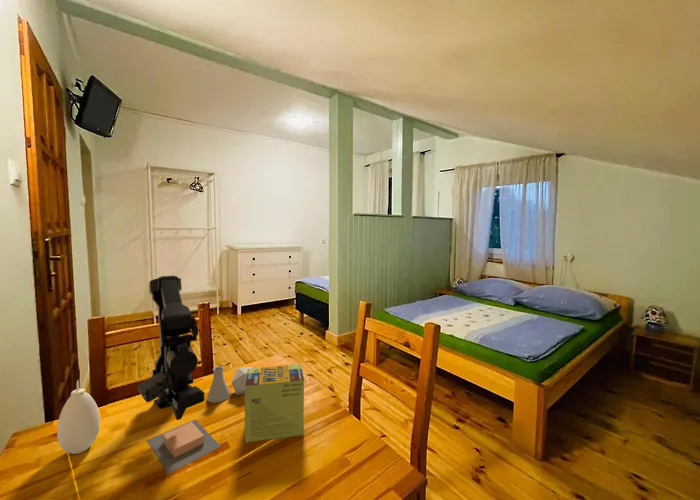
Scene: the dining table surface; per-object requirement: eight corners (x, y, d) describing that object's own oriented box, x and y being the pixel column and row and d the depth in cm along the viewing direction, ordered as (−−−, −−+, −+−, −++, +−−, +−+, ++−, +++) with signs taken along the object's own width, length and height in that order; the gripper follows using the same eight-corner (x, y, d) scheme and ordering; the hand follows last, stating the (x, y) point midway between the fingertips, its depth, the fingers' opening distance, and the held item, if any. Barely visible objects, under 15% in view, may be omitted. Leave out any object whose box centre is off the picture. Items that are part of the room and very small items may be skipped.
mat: (146, 441, 78) (146, 440, 78) (195, 420, 87) (195, 419, 87) (168, 475, 68) (167, 473, 68) (220, 447, 77) (220, 446, 77)
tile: (162, 434, 77) (173, 449, 72) (191, 421, 82) (204, 435, 77) (162, 443, 77) (174, 459, 72) (191, 430, 83) (204, 444, 77)
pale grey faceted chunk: (247, 403, 97) (264, 374, 101) (222, 390, 97) (241, 360, 101) (250, 399, 105) (266, 372, 109) (227, 386, 105) (244, 359, 109)
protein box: (304, 435, 82) (304, 379, 81) (244, 444, 78) (243, 386, 77) (300, 412, 92) (301, 363, 91) (247, 419, 88) (247, 368, 87)
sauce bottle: (67, 444, 77) (64, 375, 76) (105, 436, 80) (103, 370, 79) (51, 466, 70) (48, 390, 69) (94, 457, 73) (91, 384, 72)
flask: (221, 405, 95) (221, 374, 95) (201, 402, 97) (200, 372, 96) (234, 393, 102) (234, 364, 102) (215, 391, 104) (215, 362, 103)
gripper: (130, 359, 78) (132, 417, 79) (152, 384, 66) (154, 453, 67) (177, 347, 87) (178, 400, 88) (205, 368, 74) (205, 429, 75)
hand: (178, 418), depth 79 cm, fingers closed
